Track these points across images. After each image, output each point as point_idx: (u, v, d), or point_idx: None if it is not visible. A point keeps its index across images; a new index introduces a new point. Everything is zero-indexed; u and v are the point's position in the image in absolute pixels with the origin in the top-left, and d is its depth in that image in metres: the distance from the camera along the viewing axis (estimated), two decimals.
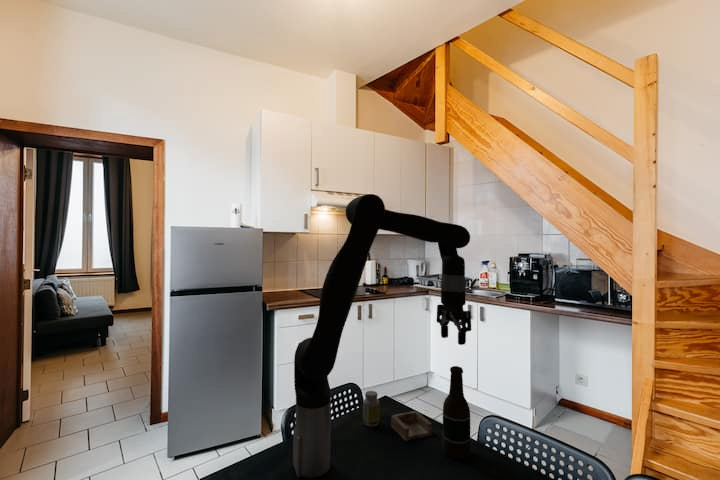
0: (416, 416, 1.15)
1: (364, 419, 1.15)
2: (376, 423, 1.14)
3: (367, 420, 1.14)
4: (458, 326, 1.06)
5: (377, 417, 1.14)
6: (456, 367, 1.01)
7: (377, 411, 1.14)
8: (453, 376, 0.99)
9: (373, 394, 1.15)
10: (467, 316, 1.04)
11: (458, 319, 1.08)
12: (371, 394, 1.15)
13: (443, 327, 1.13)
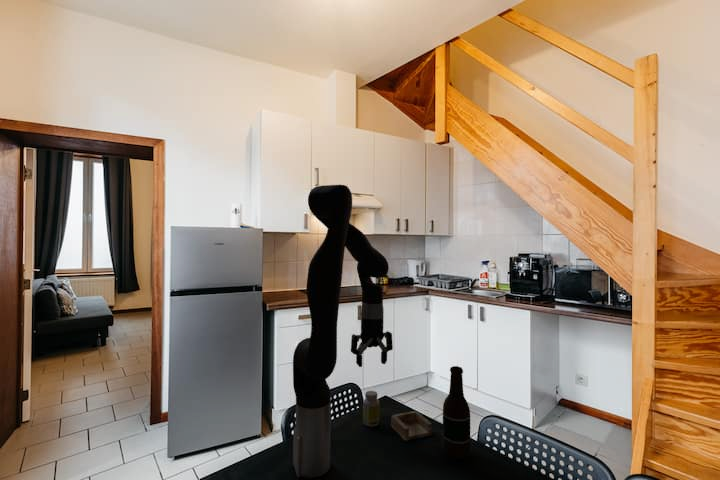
0: (416, 416, 1.15)
1: (364, 419, 1.15)
2: (376, 423, 1.14)
3: (367, 420, 1.14)
4: (384, 348, 1.17)
5: (377, 417, 1.14)
6: (456, 367, 1.01)
7: (377, 411, 1.14)
8: (453, 376, 0.99)
9: (373, 394, 1.15)
10: None
11: None
12: (371, 394, 1.15)
13: None
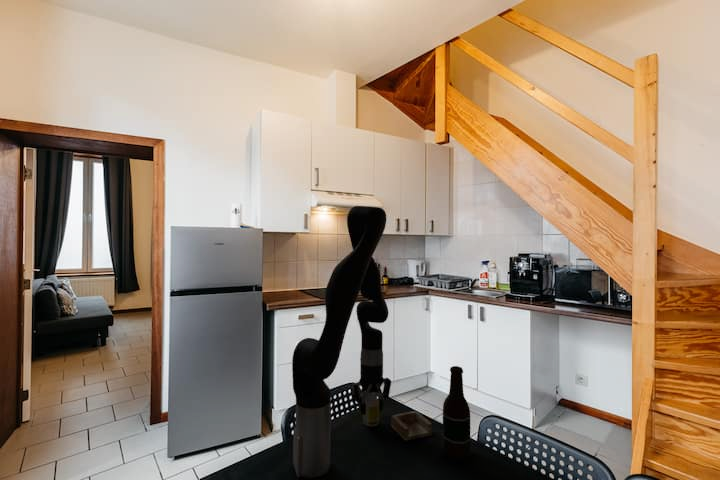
0: (416, 416, 1.15)
1: (364, 419, 1.15)
2: (376, 423, 1.14)
3: (367, 419, 1.14)
4: (381, 395, 1.16)
5: (377, 417, 1.14)
6: (456, 367, 1.01)
7: (377, 411, 1.14)
8: (453, 376, 0.99)
9: (373, 394, 1.15)
10: None
11: None
12: (371, 394, 1.15)
13: None
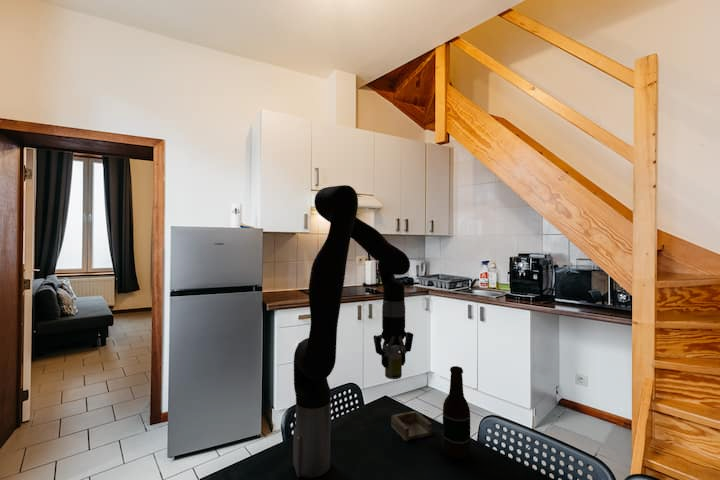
0: (416, 416, 1.15)
1: (386, 372, 1.13)
2: (399, 376, 1.12)
3: (390, 372, 1.12)
4: (404, 348, 1.14)
5: (400, 370, 1.12)
6: (456, 367, 1.01)
7: (400, 364, 1.13)
8: (453, 376, 0.99)
9: (395, 347, 1.13)
10: None
11: None
12: (393, 347, 1.13)
13: None
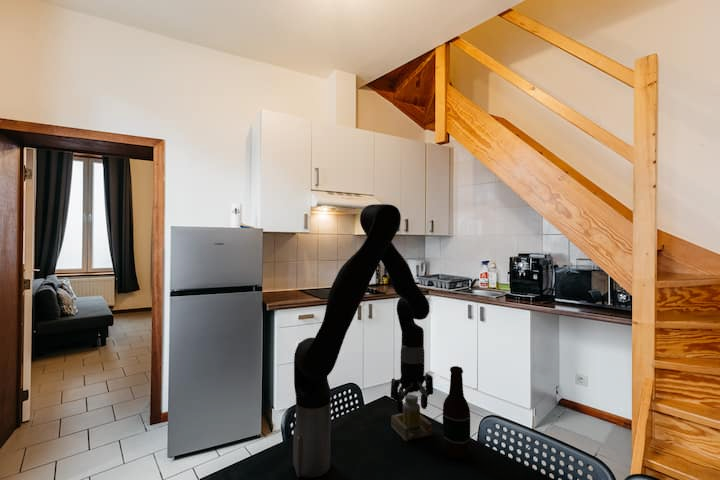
0: None
1: None
2: (417, 428, 1.09)
3: (408, 425, 1.09)
4: (425, 392, 1.12)
5: (418, 422, 1.09)
6: (456, 367, 1.01)
7: (418, 416, 1.09)
8: (453, 376, 0.99)
9: (414, 398, 1.10)
10: None
11: None
12: (411, 398, 1.10)
13: None
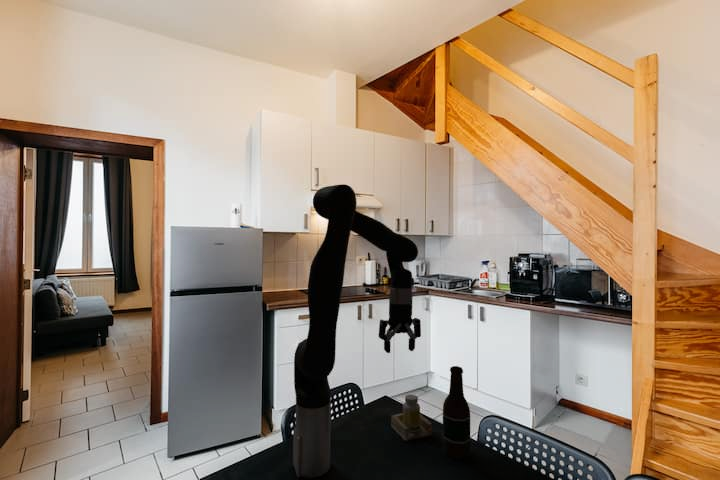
0: None
1: None
2: (417, 428, 1.09)
3: (408, 425, 1.09)
4: (413, 334, 1.14)
5: (418, 422, 1.09)
6: (456, 367, 1.01)
7: (418, 416, 1.09)
8: (453, 376, 0.99)
9: (414, 398, 1.10)
10: None
11: None
12: (411, 398, 1.10)
13: None
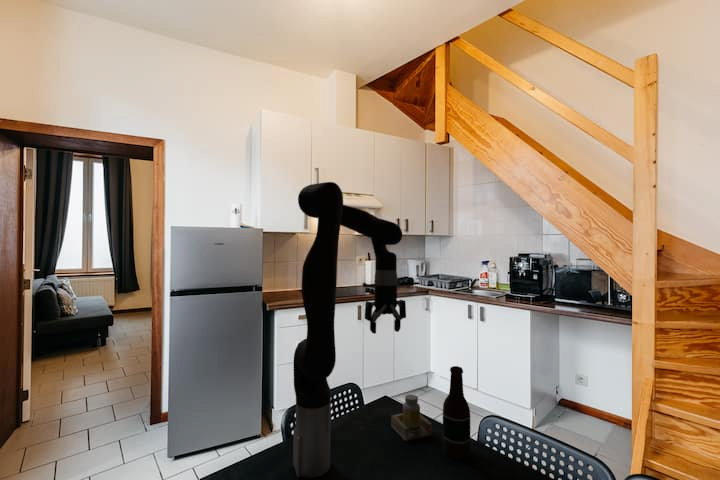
0: None
1: None
2: (417, 428, 1.09)
3: (408, 425, 1.09)
4: (398, 315, 1.17)
5: (418, 422, 1.09)
6: (456, 367, 1.01)
7: (418, 416, 1.09)
8: (453, 376, 0.99)
9: (414, 398, 1.10)
10: None
11: None
12: (411, 398, 1.10)
13: None
